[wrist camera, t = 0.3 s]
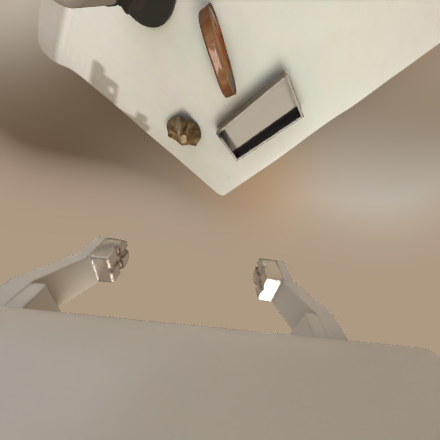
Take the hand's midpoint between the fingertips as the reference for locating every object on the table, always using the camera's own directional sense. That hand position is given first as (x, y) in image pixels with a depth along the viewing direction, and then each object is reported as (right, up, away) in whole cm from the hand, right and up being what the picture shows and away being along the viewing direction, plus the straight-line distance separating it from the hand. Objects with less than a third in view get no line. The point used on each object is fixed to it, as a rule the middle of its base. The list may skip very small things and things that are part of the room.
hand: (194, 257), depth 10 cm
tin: (+2, +42, +29) cm, 51 cm away
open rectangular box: (+12, +32, +38) cm, 51 cm away
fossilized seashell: (-9, +31, +42) cm, 53 cm away
